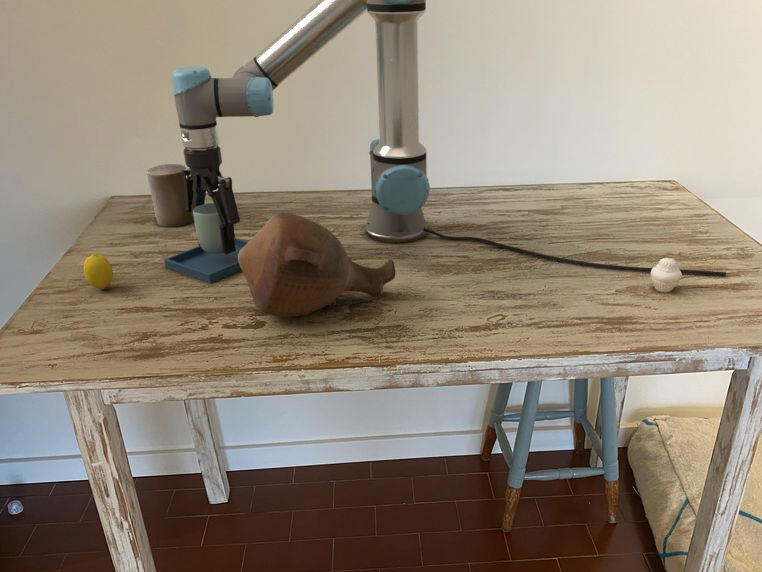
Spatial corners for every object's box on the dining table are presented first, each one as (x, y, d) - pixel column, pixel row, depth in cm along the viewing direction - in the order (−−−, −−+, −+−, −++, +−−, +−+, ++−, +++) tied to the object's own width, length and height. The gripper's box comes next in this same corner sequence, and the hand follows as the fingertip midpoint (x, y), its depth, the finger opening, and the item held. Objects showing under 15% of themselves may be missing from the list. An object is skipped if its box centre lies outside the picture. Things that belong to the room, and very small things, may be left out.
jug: (235, 335, 132) (392, 341, 140) (240, 246, 119) (411, 258, 128) (235, 272, 147) (376, 281, 155) (239, 187, 134) (393, 201, 143)
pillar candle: (202, 218, 188) (193, 162, 180) (173, 229, 180) (162, 171, 173) (177, 212, 192) (167, 156, 185) (148, 222, 185) (136, 165, 177)
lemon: (90, 297, 147) (80, 261, 143) (87, 286, 151) (78, 251, 147) (118, 291, 149) (109, 256, 145) (114, 281, 153) (106, 247, 149)
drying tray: (272, 256, 165) (271, 248, 164) (210, 283, 152) (209, 275, 151) (227, 242, 172) (226, 235, 171) (165, 267, 160) (164, 259, 159)
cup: (226, 258, 157) (219, 215, 152) (193, 256, 158) (186, 213, 153) (240, 245, 163) (234, 203, 158) (209, 243, 165) (202, 201, 160)
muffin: (641, 285, 149) (647, 255, 146) (665, 281, 152) (670, 250, 148) (661, 297, 144) (667, 265, 141) (685, 292, 147) (691, 260, 143)
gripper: (155, 143, 152) (174, 243, 163) (221, 157, 141) (235, 263, 153) (184, 136, 157) (200, 233, 168) (249, 150, 146) (261, 253, 158)
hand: (217, 247), depth 160 cm, fingers closed on cup, 8 cm apart
